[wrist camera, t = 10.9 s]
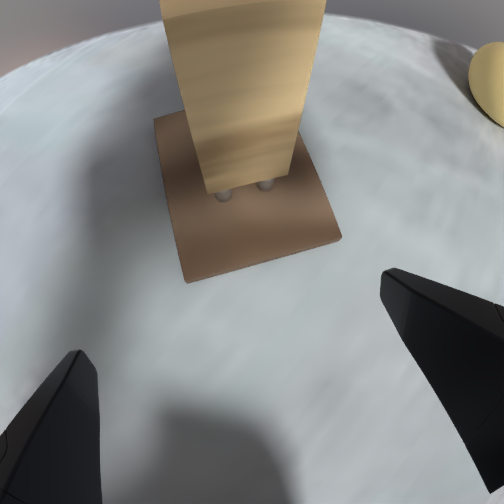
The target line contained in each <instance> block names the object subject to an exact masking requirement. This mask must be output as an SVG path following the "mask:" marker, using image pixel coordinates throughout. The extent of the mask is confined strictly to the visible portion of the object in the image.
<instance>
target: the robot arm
mask: <svg viewBox="0 0 504 504" xmlns="http://www.w3.org/2000/svg"><path fill="white" fill-rule="evenodd" d="M380 298H381V301H382V303H383V305H384V306H385V308H386V310H387V312H388V314H389V316H390V318H391V320H392V322H393V324H394V325H395V327H396V329H397V331H398V333H399V335H400V337H401V339H402V341H403V342H404V344H405V345H406V347H407V348H408V350H409V352H410V353H411V355H412V356H413V358H414V359H415V361H416V362H417V364H418V366H419V367H420V369H421V370H422V372H423V374H424V375H425V377H426V378H427V380H428V382H429V383H430V385H431V386H432V388H433V390H434V391H435V393H436V395H437V396H438V398H439V400H440V401H441V403H442V405H443V407H444V408H445V410H446V412H447V413H448V415H449V417H450V419H451V420H452V422H453V424H454V426H455V428H456V429H457V431H458V433H459V435H460V437H461V438H462V440H463V442H464V444H465V446H466V448H467V450H468V452H469V454H470V456H471V458H472V460H473V461H474V463H475V465H476V467H477V469H478V471H479V473H480V475H481V477H482V479H483V481H484V484H485V486H486V488H487V490H488V492H489V493H490V494H491V493H493V492H494V491H496V490H497V489H499V488H500V487H502V486H503V485H504V306H501V305H498V304H494V303H493V302H490V301H488V300H485V299H482V298H479V297H477V296H474V295H471V294H468V293H466V292H463V291H460V290H457V289H455V288H452V287H449V286H446V285H443V284H441V283H438V282H435V281H432V280H429V279H426V278H424V277H421V276H418V275H415V274H412V273H409V272H406V271H403V270H400V269H398V268H391V269H388V270H385V271H383V273H382V275H381V286H380ZM0 504H102V492H101V475H100V414H99V398H98V377H97V371H96V368H95V367H94V365H93V364H92V362H91V361H90V360H89V358H88V357H87V355H86V354H85V353H84V351H82V350H74V351H70V352H69V353H68V354H67V355H66V356H65V357H64V358H63V359H62V361H61V362H60V363H59V364H58V365H57V366H56V368H55V369H54V370H53V371H52V372H51V373H50V375H49V376H48V377H47V378H46V379H45V381H44V382H43V383H42V384H41V385H40V387H39V388H38V389H37V390H36V391H35V393H34V394H33V395H32V396H31V397H30V399H29V400H28V401H27V402H26V404H25V405H24V406H23V407H22V409H21V410H20V411H19V412H18V414H17V415H16V416H15V418H14V419H13V420H12V421H11V423H10V424H9V425H8V427H7V428H6V430H4V432H3V433H2V434H1V436H0Z"/></svg>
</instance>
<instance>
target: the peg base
mask: <svg viewBox="0 0 504 504" xmlns="http://www.w3.org/2000/svg"><path fill="white" fill-rule="evenodd" d="M153 120H154V126H155V133H156V140H157V146H158V152H159V158H160V164H161V170H162V176H163V181H164V187H165V192H166V197H167V202H168V208H169V213H170V218H171V222H172V227H173V232H174V237H175V241H176V246H177V250H178V255H179V259H180V263H181V268H182V272H183V276H184V280H185V282H186V283H192V282H195V281H199V280H202V279H206V278H210V277H213V276H217V275H221V274H224V273H228V272H231V271H235V270H239V269H242V268H246V267H249V266H253V265H257V264H260V263H264V262H267V261H271V260H274V259H278V258H281V257H285V256H288V255H292V254H296V253H299V252H303V251H306V250H310V249H313V248H316V247H320V246H323V245H327V244H330V243H334V242H337V241H339V240H340V239H341V238H342V235H341V232H340V229H339V227H338V224H337V221H336V219H335V216H334V214H333V211H332V209H331V206H330V203H329V201H328V198H327V196H326V193H325V191H324V189H323V186H322V184H321V181H320V179H319V177H318V174H317V172H316V169H315V167H314V165H313V162H312V160H311V158H310V156H309V153H308V151H307V149H306V147H305V144H304V142H303V140H302V138H301V136H300V133H299V131H298V133H297V138H296V142H295V146H294V151H293V155H292V159H291V163H290V168H289V172H288V175H285V176H281V177H276V178H272V179H268V180H263V181H259V182H255V183H251V184H247V185H243V186H239V187H235V188H231V189H227V190H223V191H220V192H216V193H212V194H208V193H207V190H206V186H205V183H204V179H203V175H202V172H201V168H200V165H199V161H198V157H197V153H196V150H195V146H194V142H193V139H192V135H191V131H190V127H189V123H188V120H187V116H186V112H185V110H183V111H180V112H176V113H172V114H169V115H166V116H162V117H159V118H156V119H153Z"/></svg>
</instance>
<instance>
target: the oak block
mask: <svg viewBox="0 0 504 504" xmlns="http://www.w3.org/2000/svg"><path fill="white" fill-rule="evenodd" d="M325 6H326V0H160V7H161V13H162V18H163V23H164V27H165V32H166V36H167V40H168V44H169V48H170V52H171V56H172V61H173V65H174V69H175V73H176V77H177V81H178V85H179V89H180V93H181V96H182V100H183V104H184V108H185V112H186V116H187V120H188V123H189V127H190V131H191V135H192V139H193V142H194V146H195V150H196V153H197V157H198V161H199V165H200V168H201V172H202V175H203V179H204V183H205V186H206V190H207V193H208V194H212V193H216V192H220V191H223V190H227V189H231V188H235V187H239V186H243V185H247V184H251V183H255V182H259V181H263V180H268V179H272V178H276V177H281V176H285V175H288V172H289V168H290V163H291V159H292V155H293V151H294V146H295V142H296V138H297V133H298V129H299V125H300V120H301V116H302V111H303V107H304V103H305V98H306V94H307V89H308V85H309V80H310V76H311V71H312V67H313V62H314V58H315V53H316V48H317V44H318V39H319V34H320V30H321V25H322V20H323V15H324V11H325Z"/></svg>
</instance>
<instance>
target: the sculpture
mask: <svg viewBox="0 0 504 504" xmlns="http://www.w3.org/2000/svg"><path fill="white" fill-rule="evenodd" d="M468 79H469V86H470V89H471V92H472V94H473V96H474V98H475V100H476V101H477V103H478V104H479V105H480V107H481V108H482V109H483V110H484V111H485V112H486V113H487V114H488V115H489V116H490V117H491V118H492V119H493V120H494V121H496V122H497V123H498V124H500V125H501V126H502V127H504V42H492V43H489V44H486V45H484V46H483V47H481V48H480V49H479V50H478V51H477V52H476V53H475V54H474V56H473V58H472V60H471V62H470V66H469V72H468Z"/></svg>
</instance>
